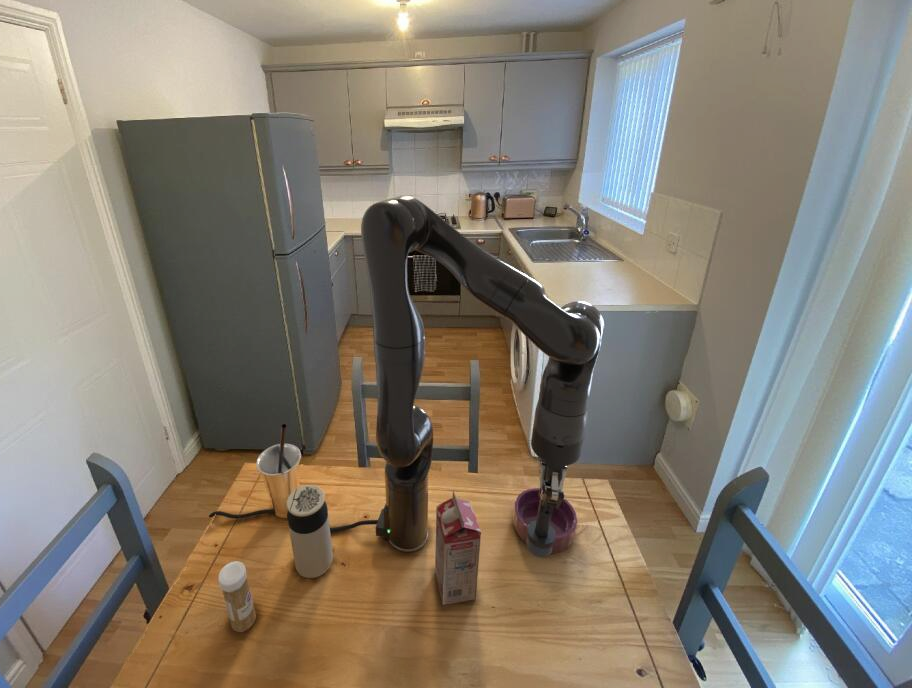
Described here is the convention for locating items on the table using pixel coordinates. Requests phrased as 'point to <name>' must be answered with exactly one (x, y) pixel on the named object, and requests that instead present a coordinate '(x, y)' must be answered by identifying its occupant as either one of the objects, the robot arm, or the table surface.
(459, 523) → the juice carton
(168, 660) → the table surface
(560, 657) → the table surface
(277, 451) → the metal cup with straw
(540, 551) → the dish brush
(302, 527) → the travel mug
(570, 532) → the bowl
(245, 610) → the sprinkles bottle
